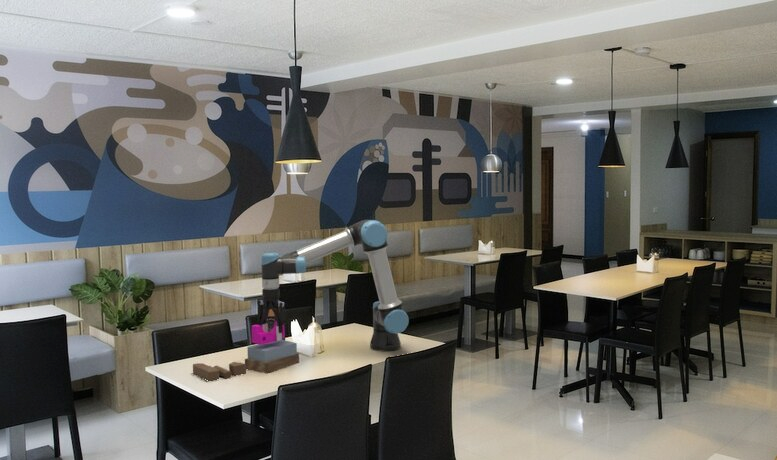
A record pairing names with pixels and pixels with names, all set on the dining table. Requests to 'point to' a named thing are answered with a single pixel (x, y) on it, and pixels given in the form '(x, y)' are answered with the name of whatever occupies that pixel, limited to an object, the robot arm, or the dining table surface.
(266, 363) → the tower base slab
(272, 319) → the whiskey bottle
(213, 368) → the wooden block set
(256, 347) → the tower cap slab
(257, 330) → the toy block
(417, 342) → the dining table surface
